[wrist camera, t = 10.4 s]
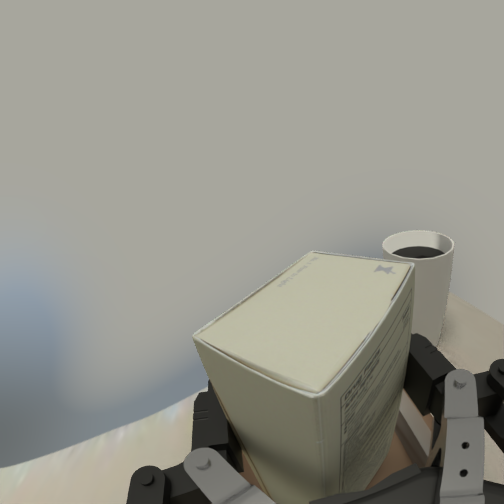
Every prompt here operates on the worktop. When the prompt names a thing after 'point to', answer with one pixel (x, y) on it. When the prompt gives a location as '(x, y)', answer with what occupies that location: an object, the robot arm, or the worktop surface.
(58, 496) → the worktop surface
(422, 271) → the white coffee cup
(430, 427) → the socket board
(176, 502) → the robot arm
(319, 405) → the skincare box
